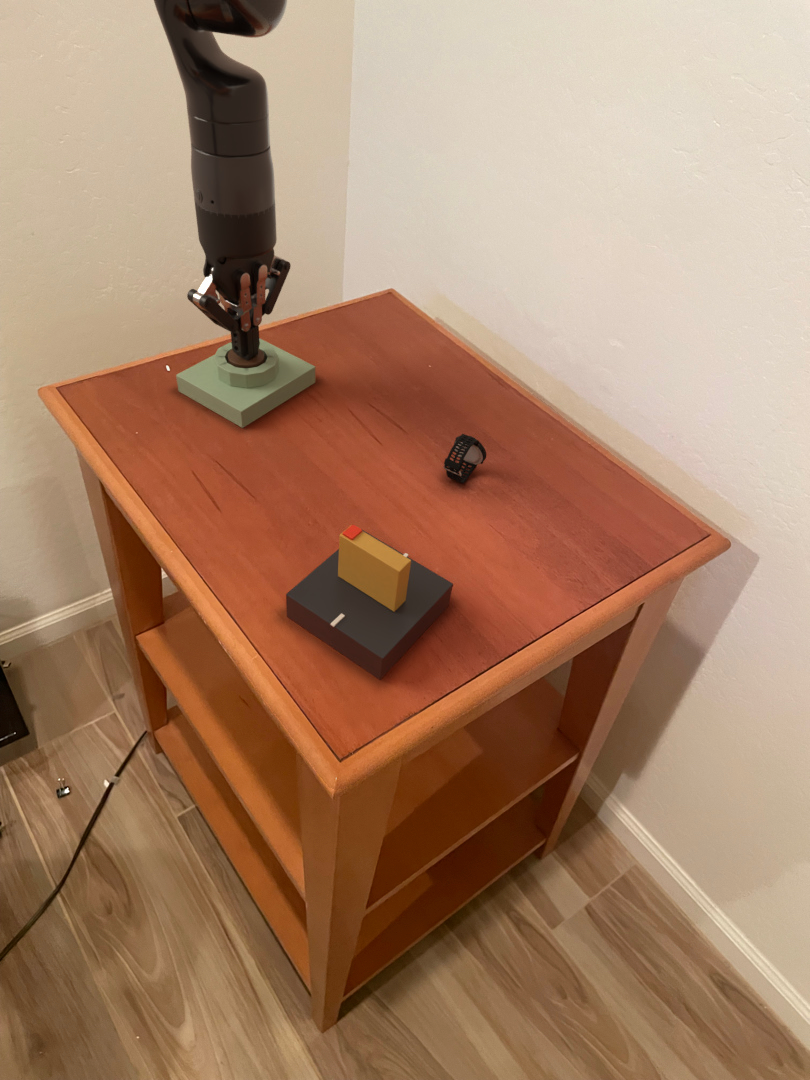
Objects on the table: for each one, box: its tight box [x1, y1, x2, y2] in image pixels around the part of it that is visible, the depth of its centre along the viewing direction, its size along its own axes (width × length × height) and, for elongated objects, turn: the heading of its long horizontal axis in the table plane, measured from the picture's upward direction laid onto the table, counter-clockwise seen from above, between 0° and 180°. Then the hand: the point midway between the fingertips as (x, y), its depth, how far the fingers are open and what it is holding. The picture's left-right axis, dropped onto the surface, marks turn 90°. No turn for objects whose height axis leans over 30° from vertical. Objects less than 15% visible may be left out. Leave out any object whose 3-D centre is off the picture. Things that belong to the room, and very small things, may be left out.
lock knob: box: [338, 524, 411, 612], centre depth 59 cm, size 6×2×5 cm, turn 54°
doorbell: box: [175, 337, 316, 429], centre depth 83 cm, size 12×10×4 cm
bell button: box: [228, 349, 265, 369], centre depth 82 cm, size 4×4×2 cm
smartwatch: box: [443, 433, 487, 485], centre depth 75 cm, size 4×5×5 cm
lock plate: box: [285, 528, 454, 681], centre depth 62 cm, size 10×10×3 cm
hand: (246, 354), depth 82 cm, fingers closed
